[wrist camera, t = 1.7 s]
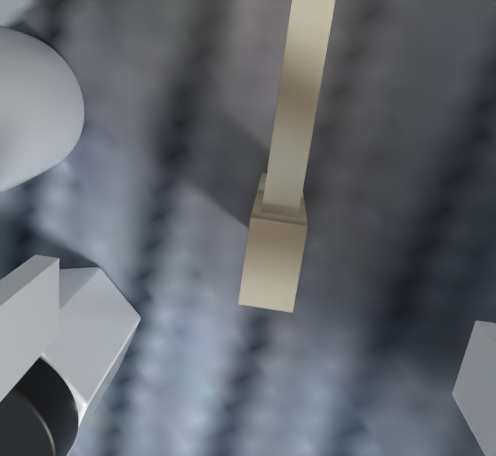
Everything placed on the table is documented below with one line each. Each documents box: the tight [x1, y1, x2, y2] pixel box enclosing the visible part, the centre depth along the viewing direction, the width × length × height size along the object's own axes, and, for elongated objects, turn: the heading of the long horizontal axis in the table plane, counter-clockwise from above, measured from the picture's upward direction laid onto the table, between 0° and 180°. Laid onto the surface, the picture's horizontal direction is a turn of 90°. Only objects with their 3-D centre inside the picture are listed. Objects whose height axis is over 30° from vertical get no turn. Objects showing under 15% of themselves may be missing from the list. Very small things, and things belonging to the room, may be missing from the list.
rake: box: [238, 0, 335, 313], centre depth 21 cm, size 26×12×10 cm, turn 173°
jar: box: [0, 267, 141, 456], centre depth 27 cm, size 9×8×12 cm
